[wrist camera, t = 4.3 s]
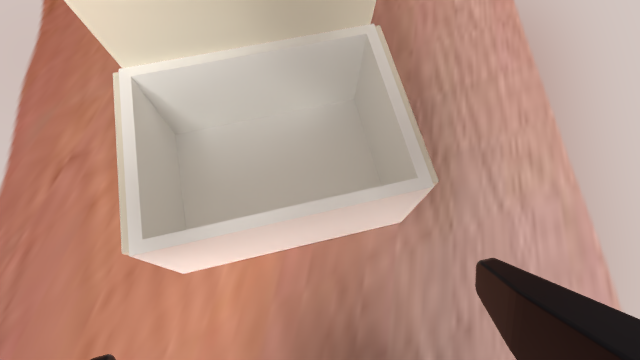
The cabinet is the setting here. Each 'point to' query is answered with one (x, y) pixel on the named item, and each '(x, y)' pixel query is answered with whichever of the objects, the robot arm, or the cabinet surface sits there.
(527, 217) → the cabinet surface
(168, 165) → the carton
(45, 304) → the cabinet surface
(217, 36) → the carton flap
